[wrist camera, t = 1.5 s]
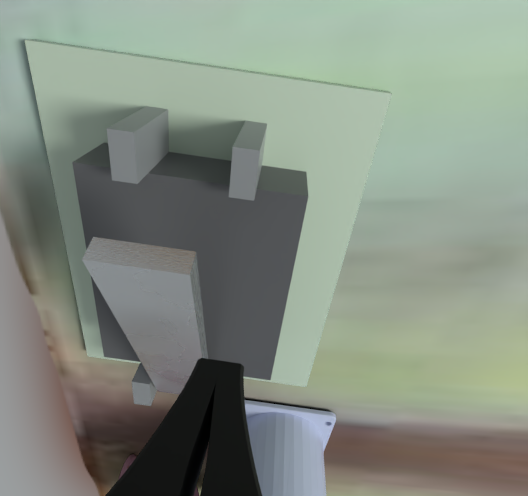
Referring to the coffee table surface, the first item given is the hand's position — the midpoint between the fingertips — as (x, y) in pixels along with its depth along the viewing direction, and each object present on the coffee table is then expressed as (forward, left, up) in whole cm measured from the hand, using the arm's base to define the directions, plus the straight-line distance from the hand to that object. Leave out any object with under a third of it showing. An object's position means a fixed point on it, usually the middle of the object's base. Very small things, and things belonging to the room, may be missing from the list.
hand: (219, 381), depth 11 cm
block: (-3, +3, -4) cm, 5 cm away
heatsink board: (-2, +3, -11) cm, 11 cm away
